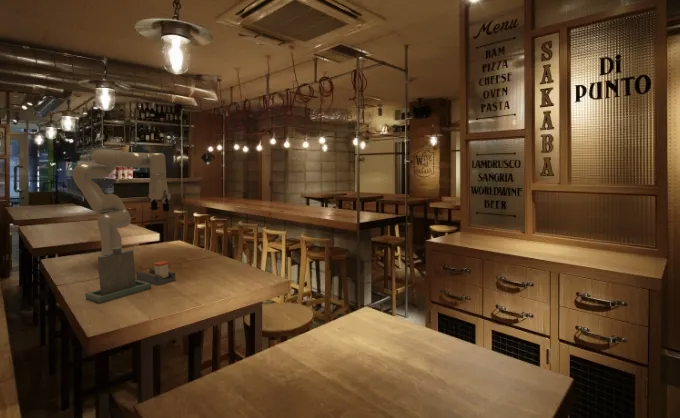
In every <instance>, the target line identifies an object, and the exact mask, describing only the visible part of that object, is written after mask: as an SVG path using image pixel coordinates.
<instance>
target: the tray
mask: <svg viewBox="0 0 680 418" xmlns="http://www.w3.org/2000/svg"><path fill="white" fill-rule="evenodd" d="M135 282H136V287H132V288H129V289H125V290H122V291H118V292H114V293H111V294H107V295H104V296H101V291H100V289H98V290H93V291H89V292H86V293H84V294H85V299H86V300H87V301H90V302H94V303H97V304H104V303H106V302H110V301H114V300H116V299H120V298H125V297H127V296H130V295H135V294H137V293H142V292H145V291H147V290H151V289H152V283H148V282H144V281H140V280H137V279H135Z"/></svg>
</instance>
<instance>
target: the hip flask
mask: <svg viewBox="0 0 680 418" xmlns="http://www.w3.org/2000/svg"><path fill="white" fill-rule="evenodd" d="M121 250H122V252H121ZM112 251H113V253H109V254H105V255H103V256H102V255H99V256H97V263H98V275H99V276H98V277H99V278H98V279H99V290H100V291H101V296H104V295H107V294H111V293H114V292H118V291H122V290H125V289H129V288H132V287H136V282H135V280H136V272H135V271H136V270H135V269H136V268H135V255H134V253H135V252H134V250H133V249H127V250H123V249H121V247H117V248H112Z"/></svg>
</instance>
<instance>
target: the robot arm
mask: <svg viewBox="0 0 680 418" xmlns="http://www.w3.org/2000/svg"><path fill="white" fill-rule="evenodd" d="M91 158H92V160H93V162H87V163H86V162H83V163H79V164H77V165H75V167H74V168H73V171H72V178H73V180H74V183H75V184H76V186H77V188H78V189H79V190H80V191H81V192H82V194H83V196H84V198H85V200H86V202H87V203H88V205H89V207H90V208H91V210H92V211H93V212H95V213H98V214H99V213H101V214H100V215H99V216H98V217H97V220H96V221H97V222H96V223H97V228H98V230H99V235H100V244H101V256H103V255H105V254H109V253H113V251H112V248H117V247H121V249H122V248H123V245H122V236H121V233H120V232H119V230H118V229H121V228H125V227H128V226H130V224H131V223H132V221H131V220H132V218H131V217H132V216H131V215H130V212H129V211H128V209H127V207H126V206H125V204H124V202H123V201H122V199H121V198H120V197H119V196H118V195H117V194H114V193H113V194H112V193H107V194H105V193H104V192H103V191H102V188H101V187H100V185H98V183H96V182H95V181H93V180H94V179H105V178H107V177H109V175H110V174H111V173H112V172H113V171H114V170H115V169H116V168H117V167H121V168H132V169H133V168H135V169H138V168H141V169H142V168H144V169H145V168H149V179H150V180H149V183H148V184H149V186H148V192H149V193H148V194H147V196H148V199H149V202H150V208H151V209H150V210H151V211H157V210H158V201H159V200H161V201H162V211H163V212H169V211H170V202H171V197H172V195H171V193H169V187H168V182H167V181H168V180H167V168H166V165H167V164H166V156H165V154H164V153H161V152H157V153H156V152H151V153H150V152H129V151H123V150H121V149H120V150H119V149H108V148H105V149H104V148H103V149H97V150H94V151H93V153H92V157H91ZM122 251H123V249H122V250H121V252H122Z"/></svg>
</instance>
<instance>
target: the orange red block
mask: <svg viewBox="0 0 680 418" xmlns="http://www.w3.org/2000/svg"><path fill="white" fill-rule="evenodd" d="M153 266H154V268H155V275H160V276H162V278H165V277H169V276H168V271H169V261H164V260H162V261H158V262H157V261H156V262H154V263H153Z"/></svg>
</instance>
